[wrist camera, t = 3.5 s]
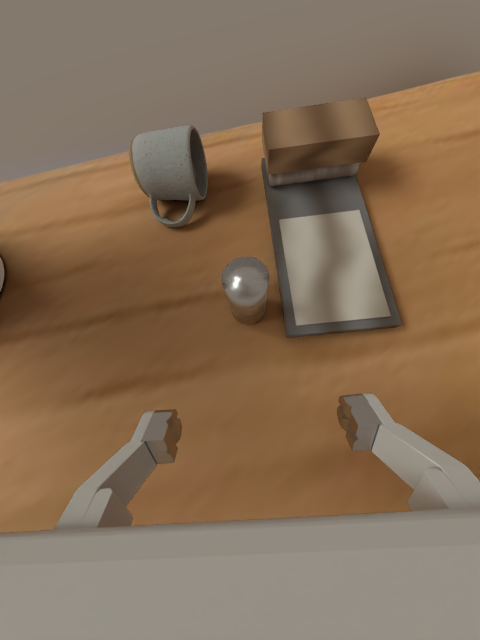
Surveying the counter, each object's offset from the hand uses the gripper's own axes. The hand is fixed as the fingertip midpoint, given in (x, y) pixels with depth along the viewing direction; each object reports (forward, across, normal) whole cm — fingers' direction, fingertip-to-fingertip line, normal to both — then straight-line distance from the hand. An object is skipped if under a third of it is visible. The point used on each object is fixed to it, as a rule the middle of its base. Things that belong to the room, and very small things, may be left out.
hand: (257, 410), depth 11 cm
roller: (+16, 0, +2) cm, 16 cm away
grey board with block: (+22, -10, -4) cm, 25 cm away
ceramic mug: (+29, +8, -10) cm, 32 cm away
